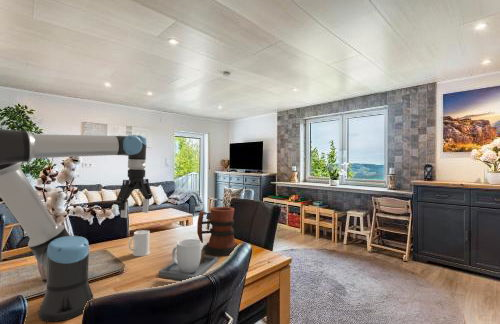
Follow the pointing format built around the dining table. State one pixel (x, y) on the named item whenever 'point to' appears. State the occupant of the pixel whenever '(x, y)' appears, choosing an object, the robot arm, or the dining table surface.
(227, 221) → the tankard
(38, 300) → the dining table surface
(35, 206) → the robot arm
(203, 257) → the walnut block
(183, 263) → the mug
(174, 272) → the tray
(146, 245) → the mug
